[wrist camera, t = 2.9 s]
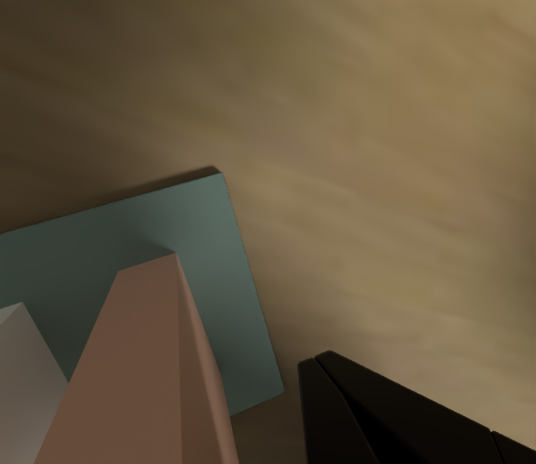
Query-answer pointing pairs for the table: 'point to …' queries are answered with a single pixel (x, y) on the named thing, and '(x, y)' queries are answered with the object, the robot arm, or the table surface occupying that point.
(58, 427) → the domino
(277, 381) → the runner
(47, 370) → the domino
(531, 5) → the table surface
